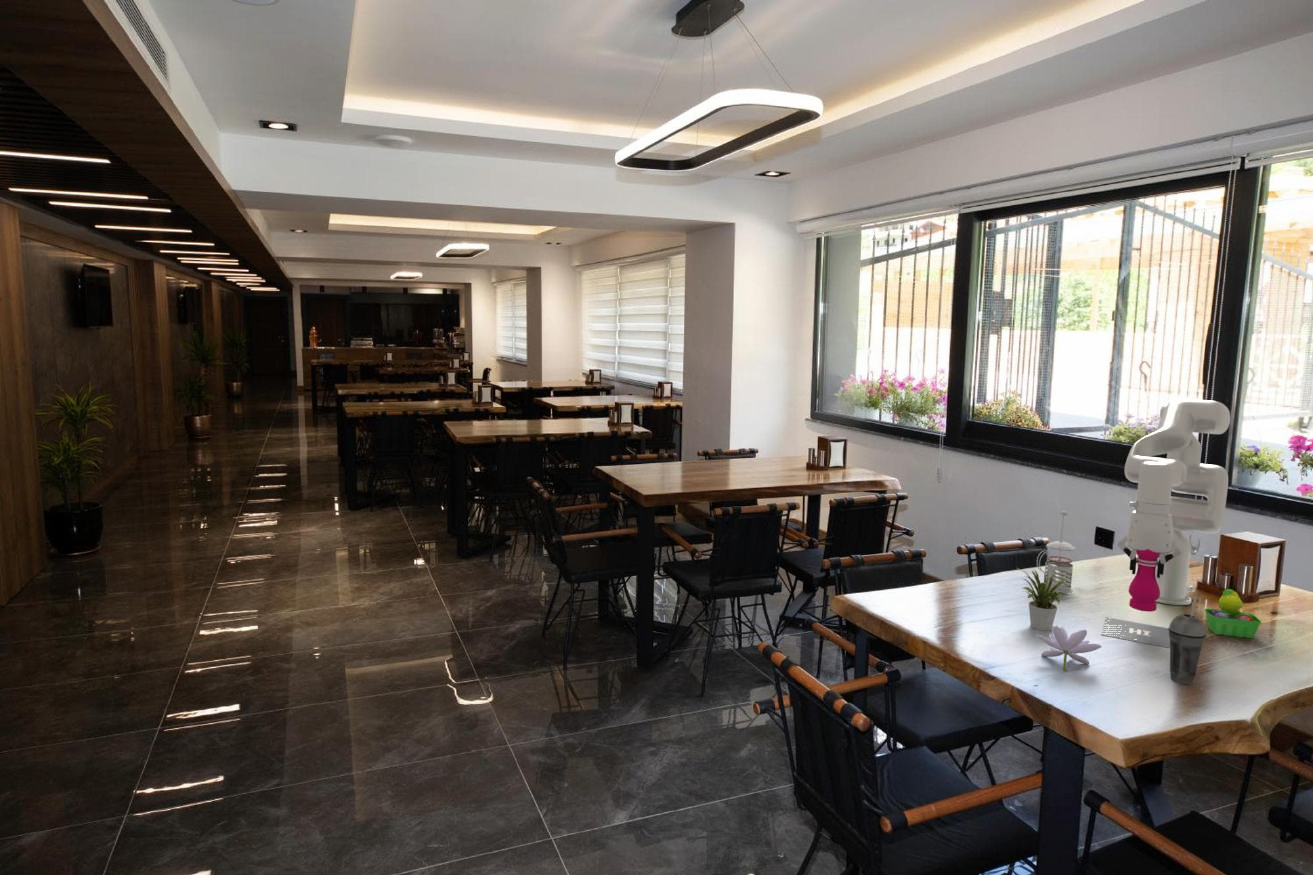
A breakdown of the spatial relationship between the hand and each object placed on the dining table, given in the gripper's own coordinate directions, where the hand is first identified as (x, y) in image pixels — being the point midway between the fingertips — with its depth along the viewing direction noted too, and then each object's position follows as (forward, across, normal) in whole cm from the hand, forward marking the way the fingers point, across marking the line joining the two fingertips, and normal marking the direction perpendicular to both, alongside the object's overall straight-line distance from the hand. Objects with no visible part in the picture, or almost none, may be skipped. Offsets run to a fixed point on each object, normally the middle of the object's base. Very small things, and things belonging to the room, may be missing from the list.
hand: (1145, 574), depth 215 cm
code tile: (+16, 0, -1) cm, 16 cm away
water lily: (+15, -14, -37) cm, 42 cm away
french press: (+17, -24, +28) cm, 41 cm away
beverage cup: (+16, +9, -32) cm, 36 cm away
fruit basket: (+17, +20, +15) cm, 30 cm away
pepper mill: (+10, 0, 0) cm, 10 cm away
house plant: (+16, -24, -13) cm, 32 cm away
